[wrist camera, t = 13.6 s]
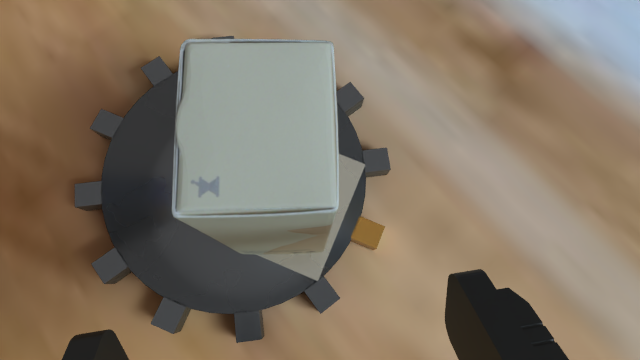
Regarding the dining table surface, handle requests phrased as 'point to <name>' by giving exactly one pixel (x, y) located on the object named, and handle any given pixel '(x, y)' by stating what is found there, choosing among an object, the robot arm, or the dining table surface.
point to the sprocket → (196, 247)
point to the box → (257, 143)
